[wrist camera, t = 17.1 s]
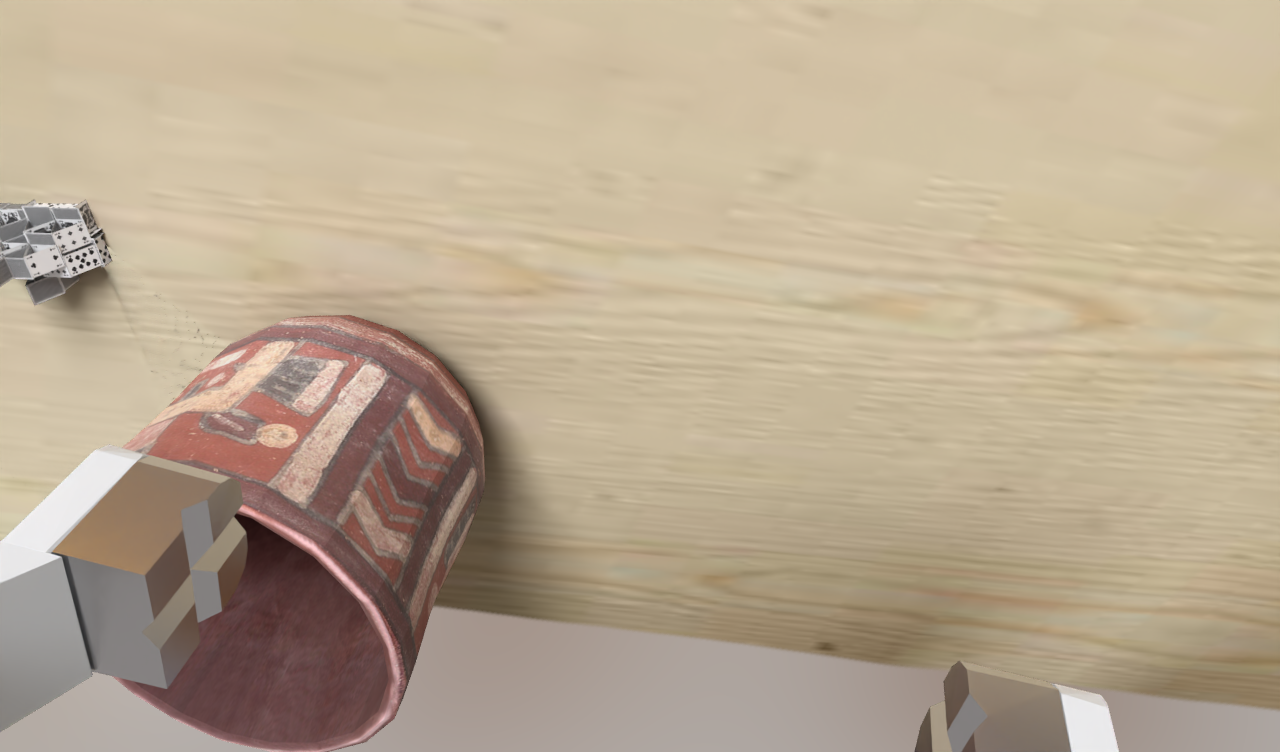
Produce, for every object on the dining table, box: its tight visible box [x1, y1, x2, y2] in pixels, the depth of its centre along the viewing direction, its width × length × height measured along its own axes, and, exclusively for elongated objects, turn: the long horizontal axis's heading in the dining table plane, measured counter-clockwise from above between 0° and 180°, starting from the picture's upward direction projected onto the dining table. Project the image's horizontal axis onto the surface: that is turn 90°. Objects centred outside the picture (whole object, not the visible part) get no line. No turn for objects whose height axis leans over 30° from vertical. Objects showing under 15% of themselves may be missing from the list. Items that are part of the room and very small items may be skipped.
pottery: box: [113, 315, 485, 752], centre depth 53 cm, size 18×18×18 cm
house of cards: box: [0, 200, 112, 305], centre depth 56 cm, size 9×9×8 cm
